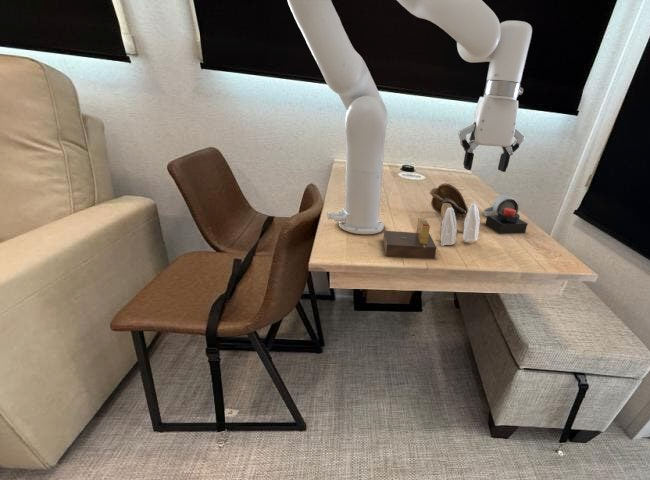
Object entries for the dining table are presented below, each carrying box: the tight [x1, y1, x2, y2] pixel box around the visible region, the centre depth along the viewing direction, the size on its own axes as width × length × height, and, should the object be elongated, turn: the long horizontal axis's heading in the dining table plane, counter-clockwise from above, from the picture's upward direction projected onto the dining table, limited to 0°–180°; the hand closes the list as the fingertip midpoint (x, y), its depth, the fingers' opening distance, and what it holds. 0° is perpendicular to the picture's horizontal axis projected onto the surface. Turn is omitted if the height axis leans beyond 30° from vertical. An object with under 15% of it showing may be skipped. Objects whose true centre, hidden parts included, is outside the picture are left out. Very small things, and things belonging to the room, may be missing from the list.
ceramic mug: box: [483, 194, 520, 217], centre depth 115 cm, size 11×8×8 cm
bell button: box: [503, 208, 516, 216], centre depth 103 cm, size 4×4×2 cm
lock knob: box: [415, 217, 431, 244], centre depth 80 cm, size 6×2×5 cm, turn 6°
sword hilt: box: [429, 182, 469, 233], centre depth 101 cm, size 10×24×15 cm
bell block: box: [484, 211, 529, 235], centre depth 105 cm, size 10×8×5 cm
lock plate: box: [382, 230, 441, 260], centre depth 82 cm, size 14×10×3 cm
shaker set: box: [440, 202, 481, 247], centre depth 88 cm, size 12×4×11 cm, turn 107°
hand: (484, 170), depth 84 cm, fingers open, 9 cm apart
